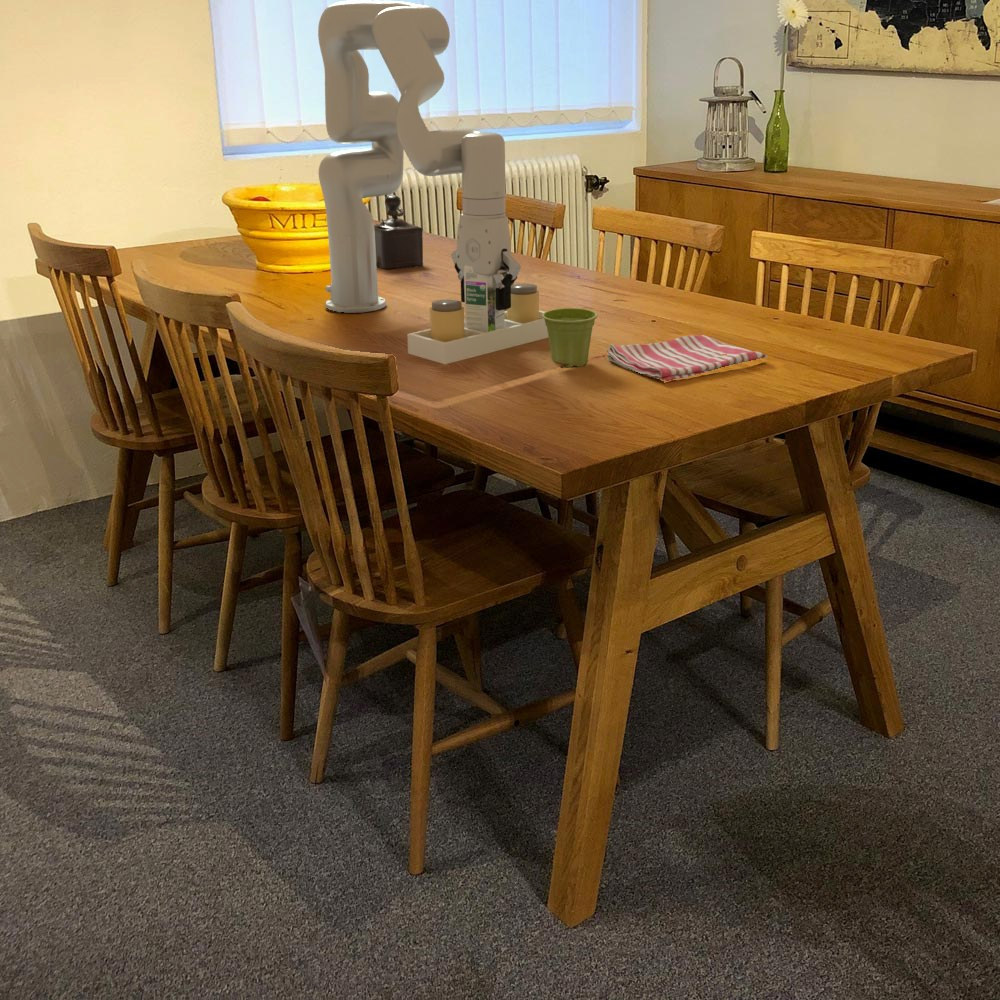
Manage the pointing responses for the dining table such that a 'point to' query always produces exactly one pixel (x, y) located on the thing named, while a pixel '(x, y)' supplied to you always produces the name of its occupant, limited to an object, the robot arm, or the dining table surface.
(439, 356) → the caddy
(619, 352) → the dish towel
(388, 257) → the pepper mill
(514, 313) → the honey jar
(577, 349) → the plant pot
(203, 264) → the dining table surface
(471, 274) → the syrup box
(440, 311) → the honey jar
